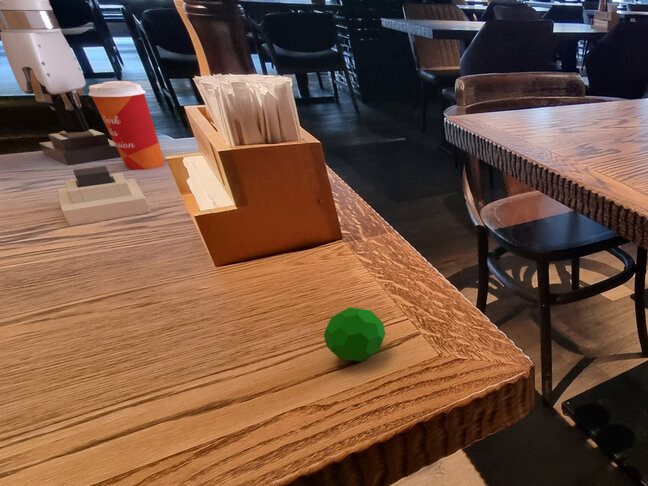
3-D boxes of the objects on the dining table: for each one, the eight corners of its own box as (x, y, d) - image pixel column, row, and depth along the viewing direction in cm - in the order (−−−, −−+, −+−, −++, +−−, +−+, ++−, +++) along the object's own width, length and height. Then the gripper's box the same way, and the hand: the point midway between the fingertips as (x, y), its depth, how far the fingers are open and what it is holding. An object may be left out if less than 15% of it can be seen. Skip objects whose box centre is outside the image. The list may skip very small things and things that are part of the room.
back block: (44, 154, 100) (33, 133, 98) (102, 146, 107) (93, 126, 105) (68, 165, 95) (58, 143, 93) (128, 156, 101) (119, 135, 99)
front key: (79, 183, 76) (73, 169, 75) (111, 179, 78) (105, 165, 77) (81, 189, 74) (75, 175, 73) (114, 185, 76) (108, 171, 75)
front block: (64, 202, 79) (51, 177, 77) (139, 191, 84) (129, 167, 82) (69, 226, 72) (55, 198, 70) (151, 212, 77) (140, 185, 75)
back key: (64, 142, 99) (59, 131, 98) (88, 139, 102) (84, 128, 101) (72, 145, 97) (67, 134, 96) (96, 142, 100) (91, 131, 99)
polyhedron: (357, 378, 46) (346, 333, 44) (318, 361, 48) (306, 317, 45) (399, 349, 50) (392, 306, 47) (362, 335, 52) (353, 293, 49)
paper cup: (116, 164, 96) (82, 83, 90) (167, 158, 101) (139, 81, 94) (122, 174, 92) (87, 89, 85) (175, 167, 96) (146, 86, 90)
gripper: (34, 19, 95) (80, 123, 104) (-35, 23, 82) (24, 140, 92) (82, 21, 96) (123, 123, 106) (21, 25, 84) (74, 140, 93)
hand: (77, 131), depth 99 cm, fingers closed
